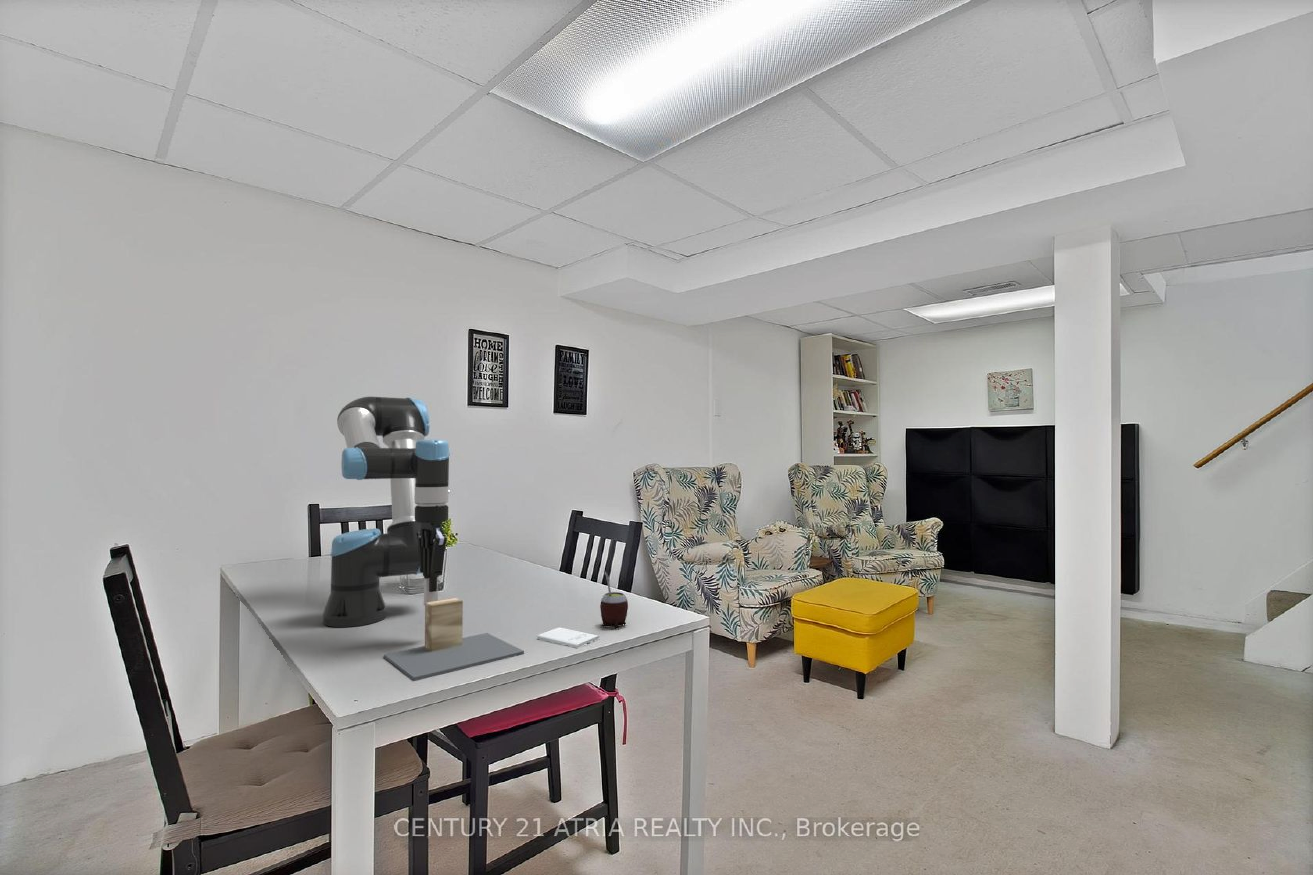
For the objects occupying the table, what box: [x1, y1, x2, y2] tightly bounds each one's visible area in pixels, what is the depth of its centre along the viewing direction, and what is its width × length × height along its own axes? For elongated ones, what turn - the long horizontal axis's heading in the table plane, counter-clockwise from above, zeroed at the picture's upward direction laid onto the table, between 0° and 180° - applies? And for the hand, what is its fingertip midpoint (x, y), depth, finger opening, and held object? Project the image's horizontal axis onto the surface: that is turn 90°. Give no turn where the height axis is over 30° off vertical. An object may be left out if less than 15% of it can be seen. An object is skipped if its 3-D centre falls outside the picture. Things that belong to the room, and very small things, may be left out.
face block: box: [424, 597, 464, 652], centre depth 137 cm, size 4×7×10 cm, turn 132°
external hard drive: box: [537, 626, 601, 649], centre depth 145 cm, size 2×8×12 cm
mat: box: [383, 632, 525, 681], centre depth 133 cm, size 18×24×1 cm
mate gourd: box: [599, 570, 629, 629], centre depth 156 cm, size 8×8×15 cm
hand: (430, 604), depth 143 cm, fingers closed
